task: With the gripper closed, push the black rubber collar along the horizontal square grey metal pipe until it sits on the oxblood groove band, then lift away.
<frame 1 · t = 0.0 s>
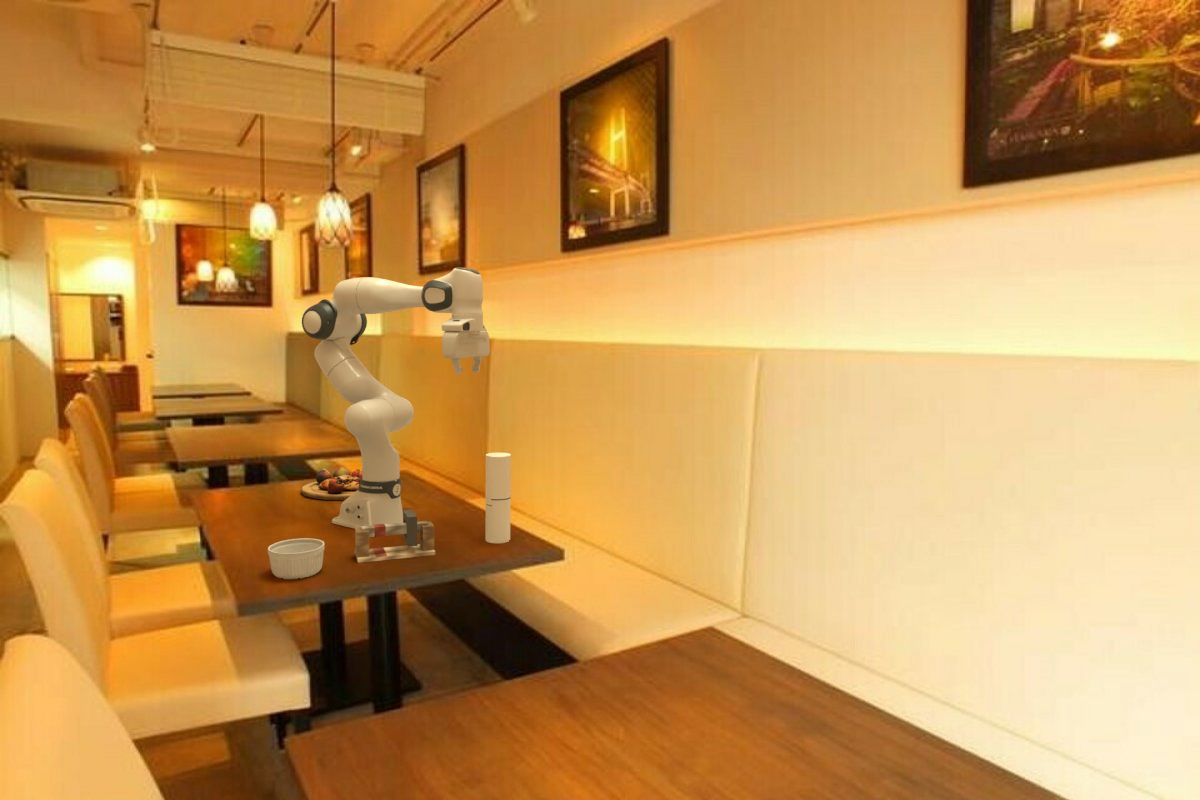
hand: (467, 373, 220), 48 cm above the table, fingers open, 8 cm apart
wooden plate with food: (347, 492, 279), on the table
ramekin: (297, 573, 190), on the table
pipe rig: (395, 554, 206), on the table
collar: (410, 527, 207), point 7 cm above the table, slide at 0.0 cm
cylindrical container: (497, 540, 221), on the table
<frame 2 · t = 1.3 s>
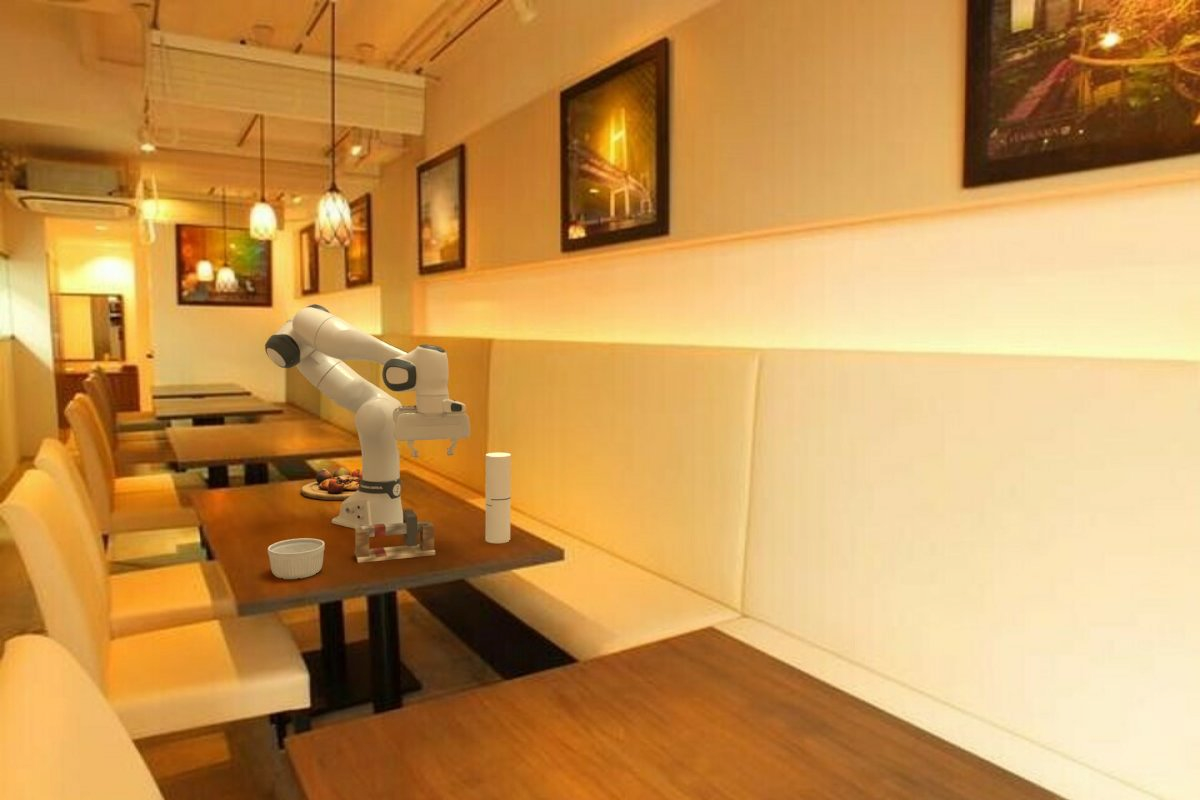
hand: (432, 455, 207), 26 cm above the table, fingers open, 8 cm apart
nothing on the table moved.
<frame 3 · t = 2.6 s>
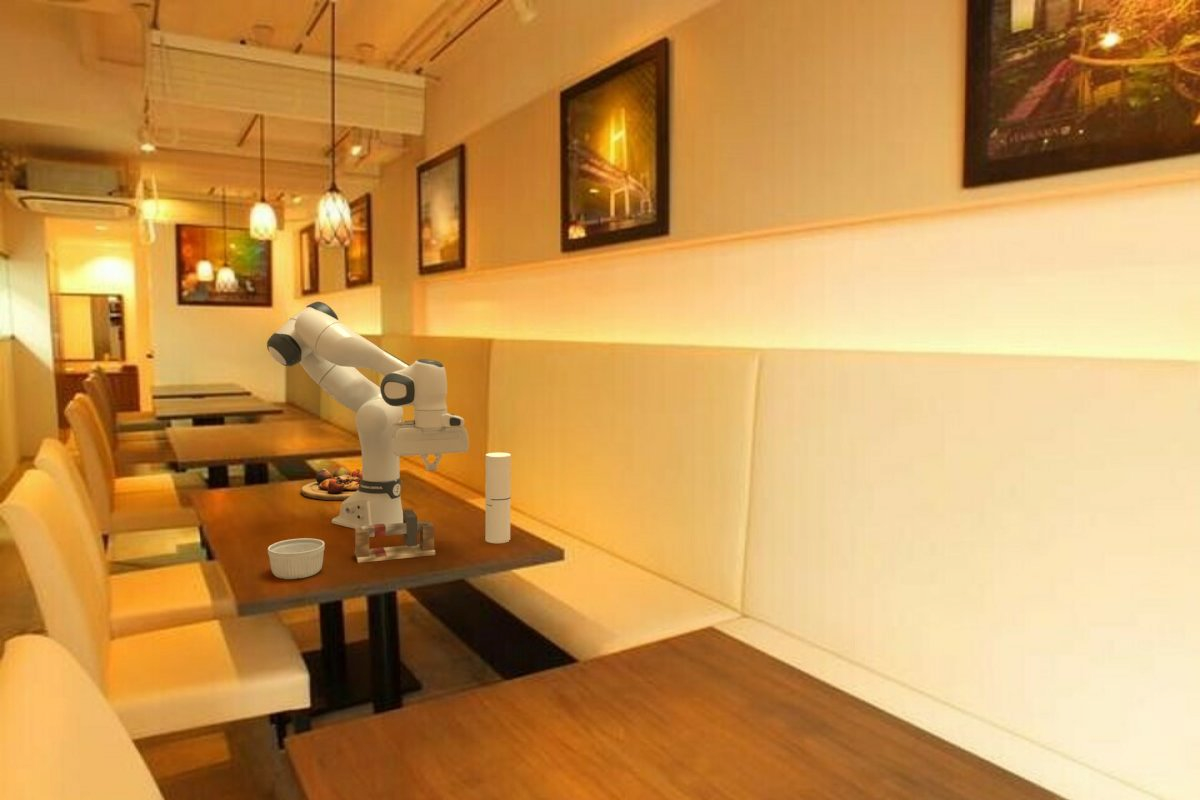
hand: (431, 470, 207), 22 cm above the table, fingers closed
nothing on the table moved.
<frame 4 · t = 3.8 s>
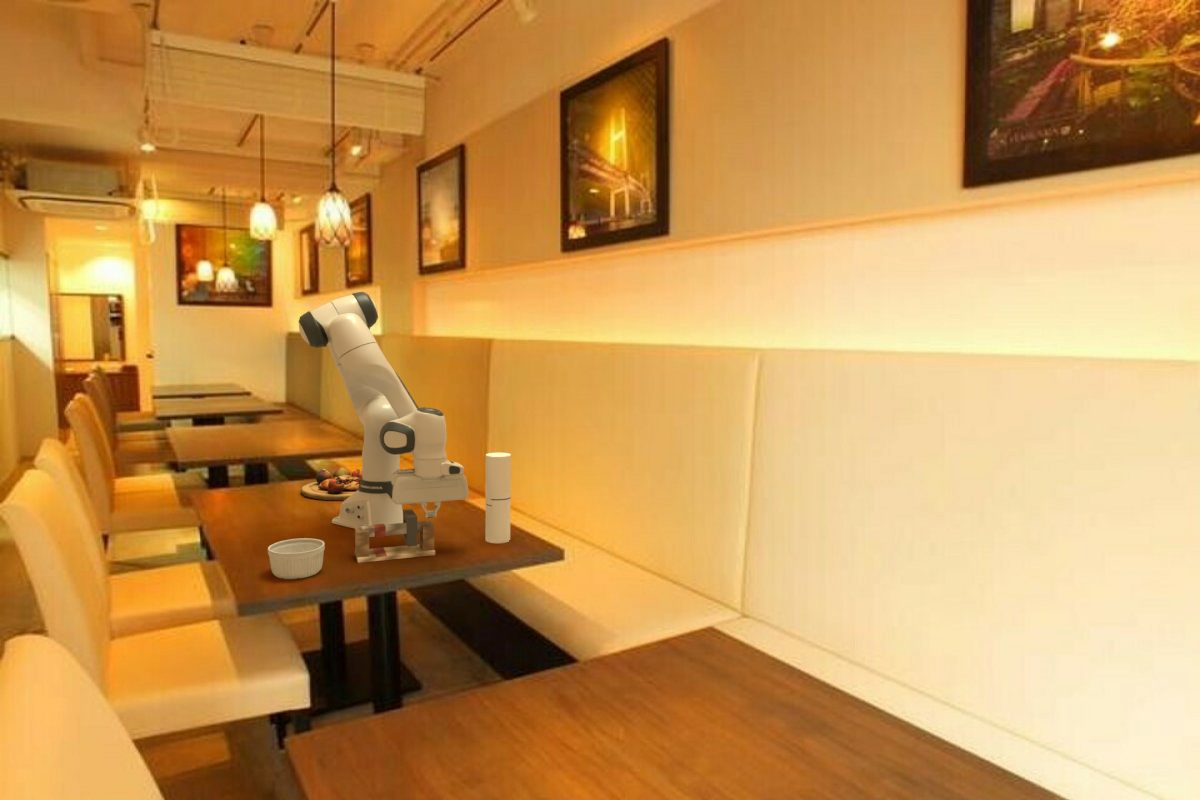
hand: (430, 517, 208), 9 cm above the table, fingers closed
nothing on the table moved.
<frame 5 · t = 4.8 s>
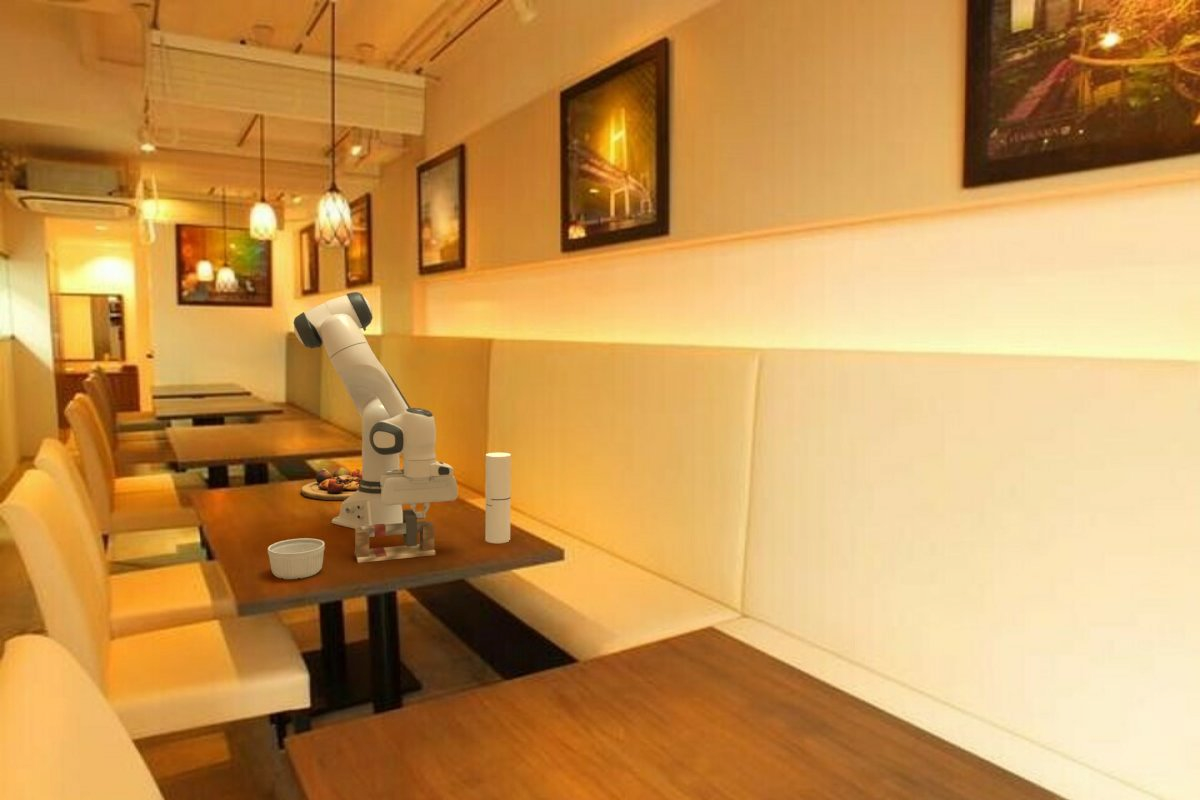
hand: (419, 518, 207), 9 cm above the table, fingers closed
collar: (409, 527, 207), point 7 cm above the table, slide at 0.1 cm, touching gripper
everything else where it was.
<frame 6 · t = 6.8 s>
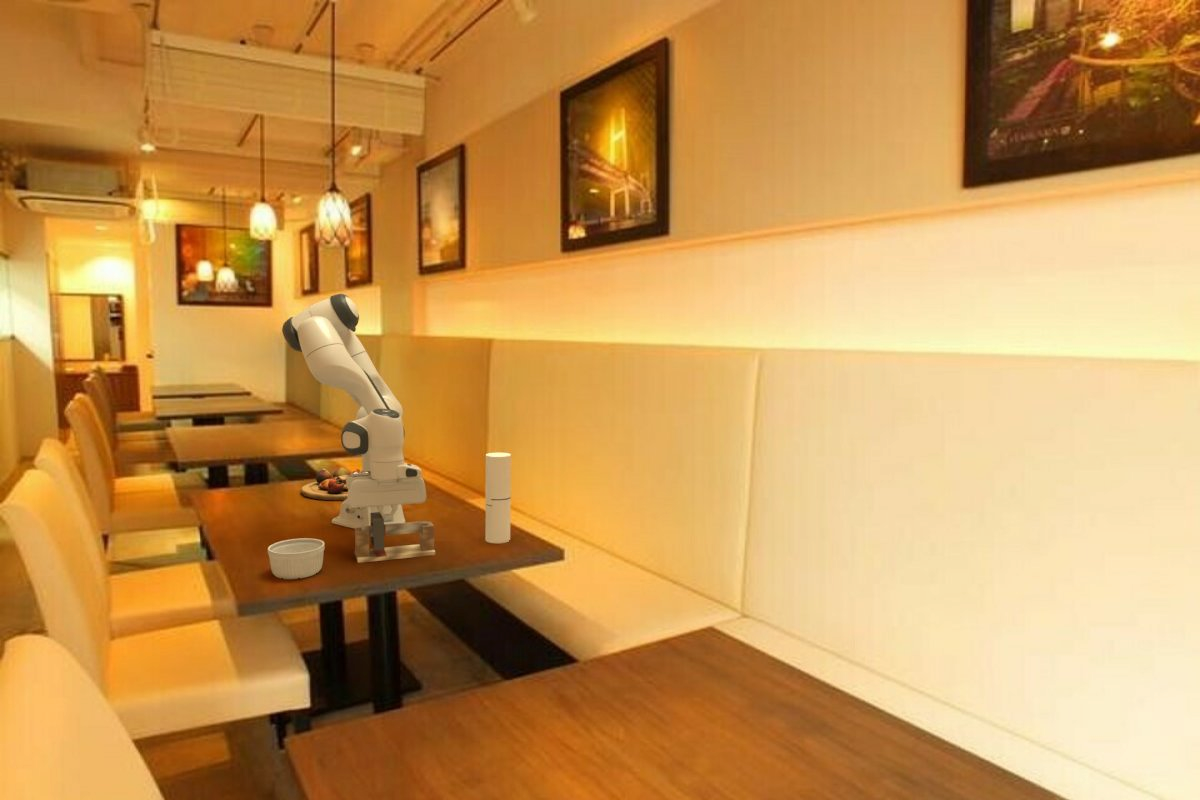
hand: (387, 521, 204), 9 cm above the table, fingers closed
collar: (377, 530, 203), point 7 cm above the table, slide at 8.6 cm, touching gripper
everything else where it was.
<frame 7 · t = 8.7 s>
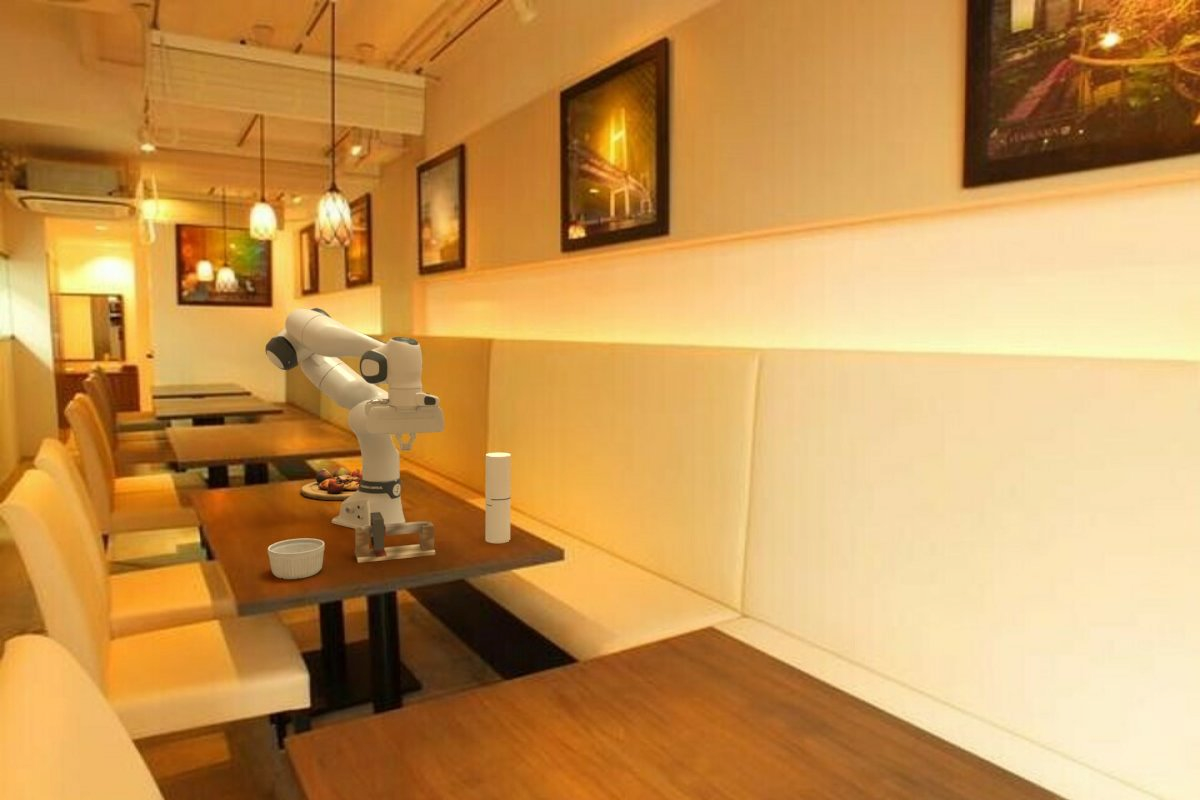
hand: (405, 449, 204), 28 cm above the table, fingers closed
collar: (377, 530, 203), point 7 cm above the table, slide at 8.6 cm
everything else where it was.
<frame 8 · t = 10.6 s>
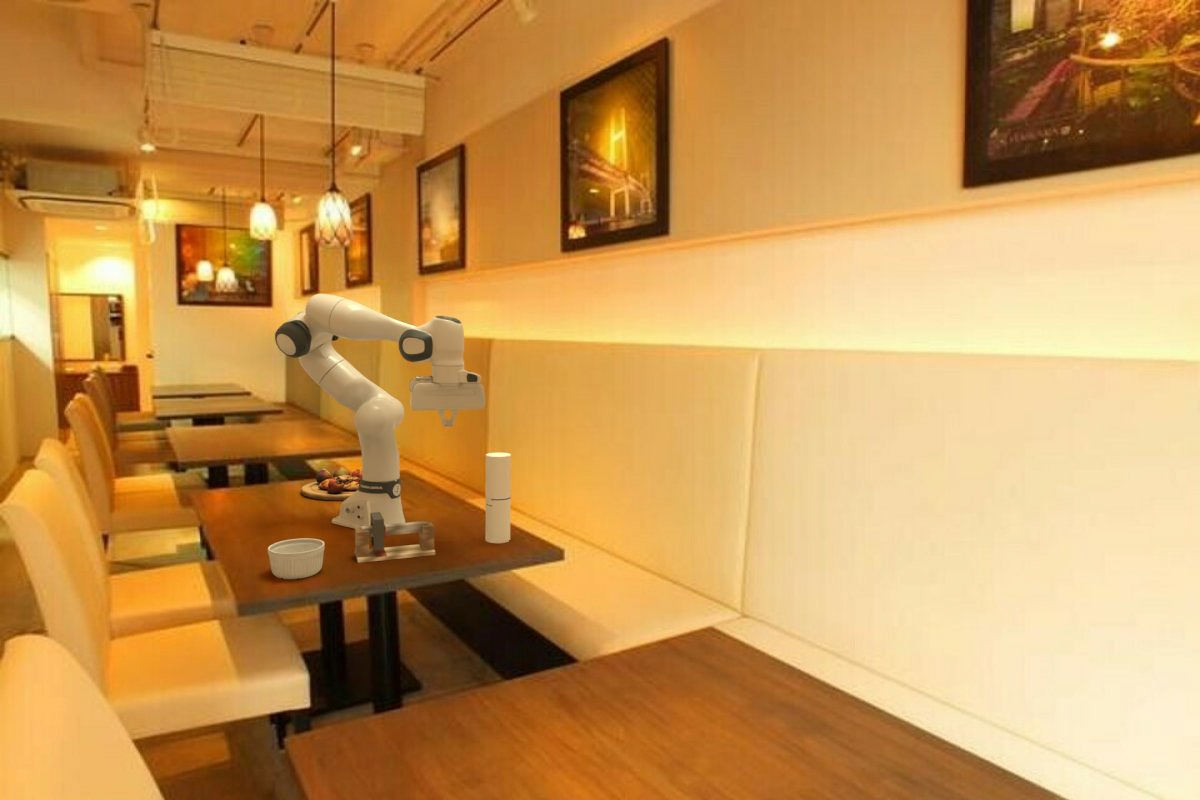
hand: (448, 426, 210), 34 cm above the table, fingers closed
nothing on the table moved.
at the end: collar slide at 8.6 cm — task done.
